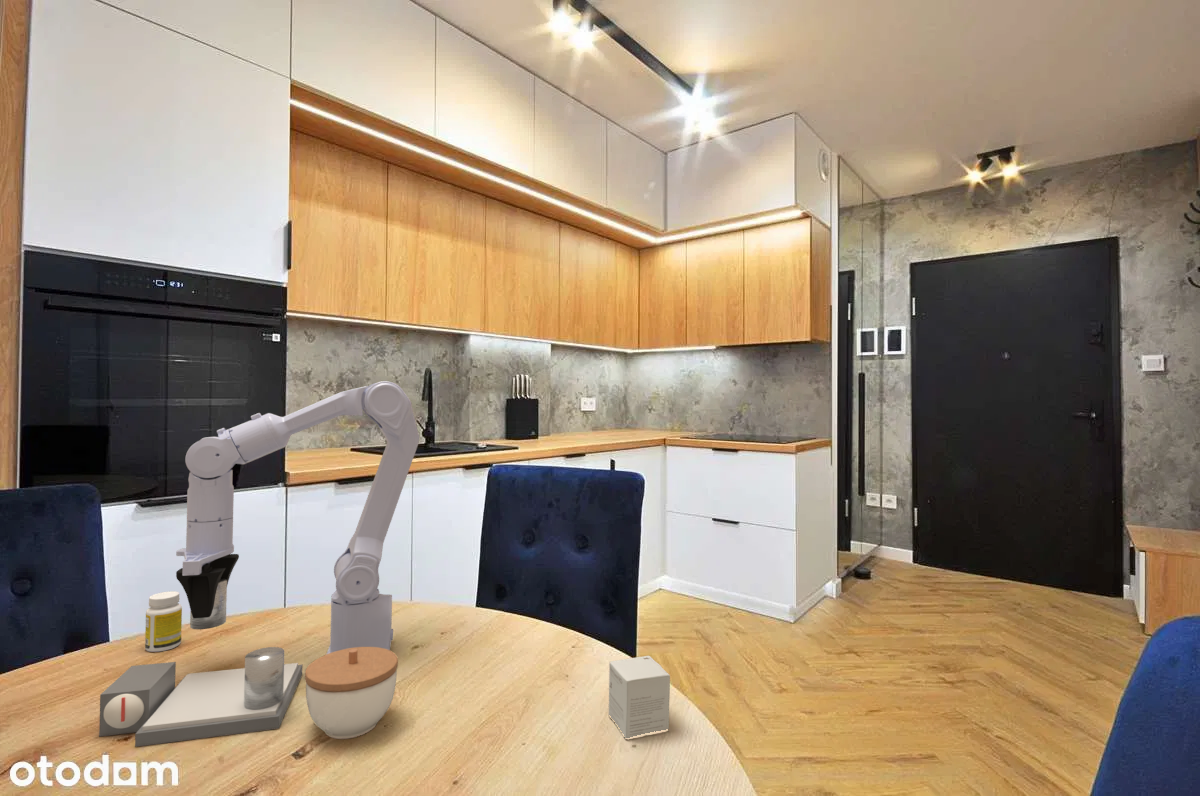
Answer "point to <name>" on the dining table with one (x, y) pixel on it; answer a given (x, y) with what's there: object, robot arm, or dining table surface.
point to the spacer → (218, 610)
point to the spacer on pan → (263, 678)
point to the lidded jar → (350, 690)
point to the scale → (186, 704)
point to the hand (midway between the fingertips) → (208, 611)
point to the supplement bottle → (163, 622)
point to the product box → (639, 695)
